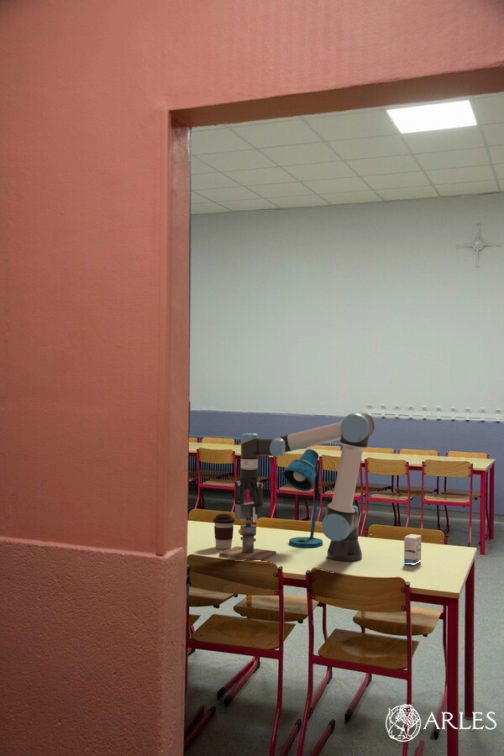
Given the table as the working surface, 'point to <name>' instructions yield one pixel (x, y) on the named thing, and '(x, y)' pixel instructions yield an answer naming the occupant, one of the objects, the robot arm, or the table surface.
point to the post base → (247, 556)
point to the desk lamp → (302, 479)
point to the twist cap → (246, 512)
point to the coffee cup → (223, 530)
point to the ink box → (412, 548)
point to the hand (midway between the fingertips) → (248, 520)
